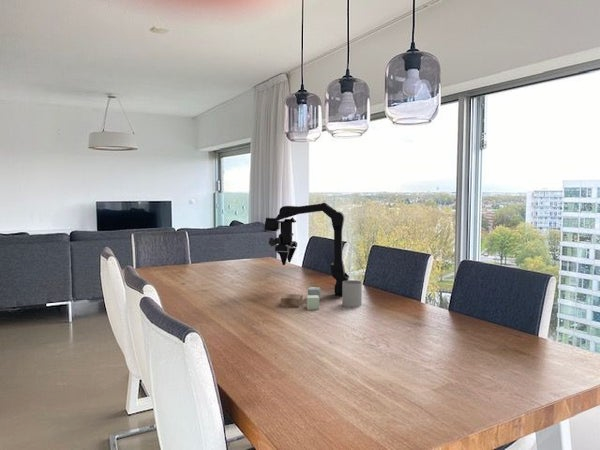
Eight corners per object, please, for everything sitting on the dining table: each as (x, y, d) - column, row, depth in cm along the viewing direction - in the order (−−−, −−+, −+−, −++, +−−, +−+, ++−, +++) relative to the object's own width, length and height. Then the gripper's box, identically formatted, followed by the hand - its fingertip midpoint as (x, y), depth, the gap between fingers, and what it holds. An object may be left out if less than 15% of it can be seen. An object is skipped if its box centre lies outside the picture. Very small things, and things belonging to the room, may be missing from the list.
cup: (339, 305, 205) (339, 282, 204) (346, 301, 212) (346, 279, 211) (357, 307, 201) (357, 284, 200) (364, 303, 208) (364, 281, 207)
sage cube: (317, 306, 203) (318, 295, 203) (319, 309, 198) (319, 297, 198) (306, 306, 203) (306, 295, 203) (307, 309, 198) (307, 298, 198)
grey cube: (320, 298, 219) (320, 287, 218) (318, 300, 214) (318, 289, 213) (309, 297, 220) (309, 287, 219) (307, 300, 215) (307, 289, 214)
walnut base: (302, 303, 210) (302, 294, 209) (298, 307, 202) (298, 298, 202) (285, 302, 211) (285, 293, 211) (280, 306, 203) (280, 297, 203)
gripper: (276, 229, 239) (276, 260, 240) (264, 233, 221) (264, 266, 222) (297, 230, 236) (297, 260, 237) (286, 233, 218) (287, 267, 219)
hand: (286, 263), depth 229 cm, fingers open, 9 cm apart
